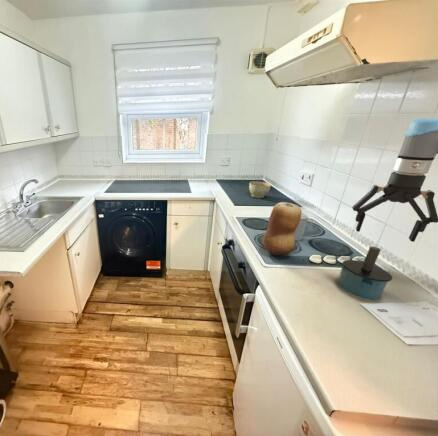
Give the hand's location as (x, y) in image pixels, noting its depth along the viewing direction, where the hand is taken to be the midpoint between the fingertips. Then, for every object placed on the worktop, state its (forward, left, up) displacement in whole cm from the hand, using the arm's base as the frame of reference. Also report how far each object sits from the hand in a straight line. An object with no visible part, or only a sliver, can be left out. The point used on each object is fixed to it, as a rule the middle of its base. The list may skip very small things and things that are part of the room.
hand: (383, 234), depth 81 cm
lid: (+1, +2, -14) cm, 14 cm away
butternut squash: (+31, -11, -23) cm, 40 cm away
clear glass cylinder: (+26, -36, -23) cm, 50 cm away
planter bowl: (+57, -101, -23) cm, 118 cm away
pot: (+1, 0, -23) cm, 23 cm away
